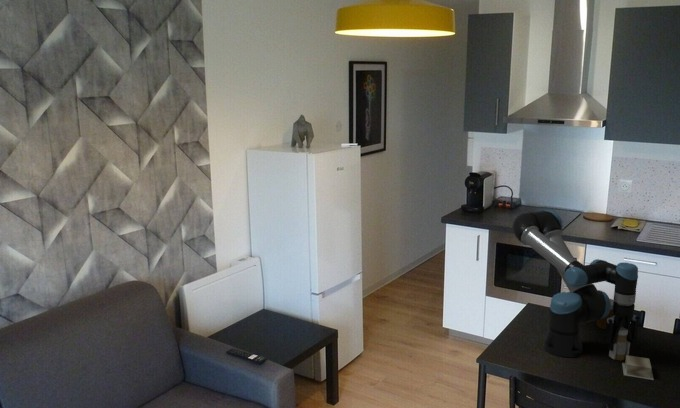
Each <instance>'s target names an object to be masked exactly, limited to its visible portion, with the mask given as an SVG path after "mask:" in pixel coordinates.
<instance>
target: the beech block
mask: <svg viewBox="0 0 680 408" xmlns="http://www.w3.org/2000/svg"><path fill="white" fill-rule="evenodd" d="M624 363H625V367H626V374H628V375H634V376H640V377H647V378H651V370H652V365H651V364H652V363H651V361H650V358H649V357H648V358H647V357H640V356H633V355H630V354H629V355H626V357H625V362H624Z"/></svg>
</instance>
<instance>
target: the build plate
mask: <svg viewBox="0 0 680 408" xmlns="http://www.w3.org/2000/svg"><path fill="white" fill-rule="evenodd" d="M621 366H622V371H623V372H622V373H623V376H626V377H632V378H640V379H645V380H649V381H650V380H651V381H654V380H655V379H654V375H653V370H652V369H651V378H647V377H640V376H634V375H628V374H626V367H625V362H622V363H621Z"/></svg>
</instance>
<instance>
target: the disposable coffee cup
mask: <svg viewBox="0 0 680 408" xmlns="http://www.w3.org/2000/svg"><path fill="white" fill-rule="evenodd" d="M609 299H610V303H611V308H610V312H609V314H608V315H607V316H606V317H605V318H602V319H600V320H596V326H597V327H598V328H601V329H602V330H606V318H607V317H608V318H610V317H612V315H613V313H614V312H613V302H614V298H613V299H612V298H609ZM613 322H614V320H613Z"/></svg>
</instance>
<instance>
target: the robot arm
mask: <svg viewBox="0 0 680 408" xmlns="http://www.w3.org/2000/svg"><path fill="white" fill-rule="evenodd" d="M562 229H563V220H562V218H561V217H560V215H559V214H558V213H557V212H555V211H554V210H549V209H547V210H545V209H542V210H539V211H538V210H537V211H532V212H524V213H523V212H522V213H521V214H518V215H517V216H516V217H515V219H514V221H513V223H512V231H513V235H514V237H516V239H517V240H518V241H519V242H520V243H521V244H522V245H525V246H529V247H530V248H531V249H532V250H533V251H535V252H536V253H537V254H539V255H540V256H541V257H543V258H544V259H545V260H546V261H547V262H549V263H550V264H551V265H552V266H554V267H555V268H556V271H557V272H558V273H559V275H560V278H562V280H563V282H564V284H565V285H566V287H567V289H568V291H567V292H566V291H563V292H562V291H561V292H557V293H556V294H554V295H553V296H552V297H551V299H550V300H551V301H550V304H549V323H548V325H549V327H548V331H547V332H546V335H545V338H544V339H543V349H544V350H545V351H546V352H548V353H550V354H551V355H553V356H558V357H563V358H574V357H575V358H576V357H578V356H580V355H581V353H582V352H583V343H582V341H581V340H582V339H581V337H580V326H581V325H583V324H584V323H585V324H586V323H589V322H594V321H595V322H596V321H597V320H600V319H602V318H605V317H606V316H607V315H608V314H609V312H610V308H611V303H610V299H611V298H610V297H609V295H608V294H607V293H606V292H605V291H603V290H601V289H599V290H598V289H597V287H596V286H595V284H596V283H597V284H598V283H603V282H606V283H609V284H612V285H614V291H613V300H614V302H613V312H614V313H613V315H612V317H610V318H608V317H607V318H606V329H605V330H604V331H605V333H604V341H606V342H607V343H608V351H609V352H608V357H610V358H611V359H613V360H616V359H615V356H616V346H617V344H616V343H615V341H616V338H617V335H618V333H619V330H620V328H621V327H624V328H626V329H627V330H628V334H627V339H626V351H625V358H626V355H629V356H630V349H631V348H632V344H633V343H634V341H635V340H637V338H638V328H639V327H638V324H639V320H640V316H638V315H636V314H634V313H635V306H636V305H635V303H636V296H637V295H636V294H637V286H638V279H639V268H638V266H637V265H636V264H634V263H629V262H619V263H617V264H614V263H610V262H608V261H606V260H605V259H604V260H603V259H598V258H597V259H593V260H592V261H590V263H589V264H583V263H581V262H580V261H578V260H577V259H576V258H575V257H574V256H573V254H572V252H571V251H570V249H569V247H568V245H567V244H566V241H564V239H563V237H562V235H563V230H562ZM613 320H614V322H613Z"/></svg>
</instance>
